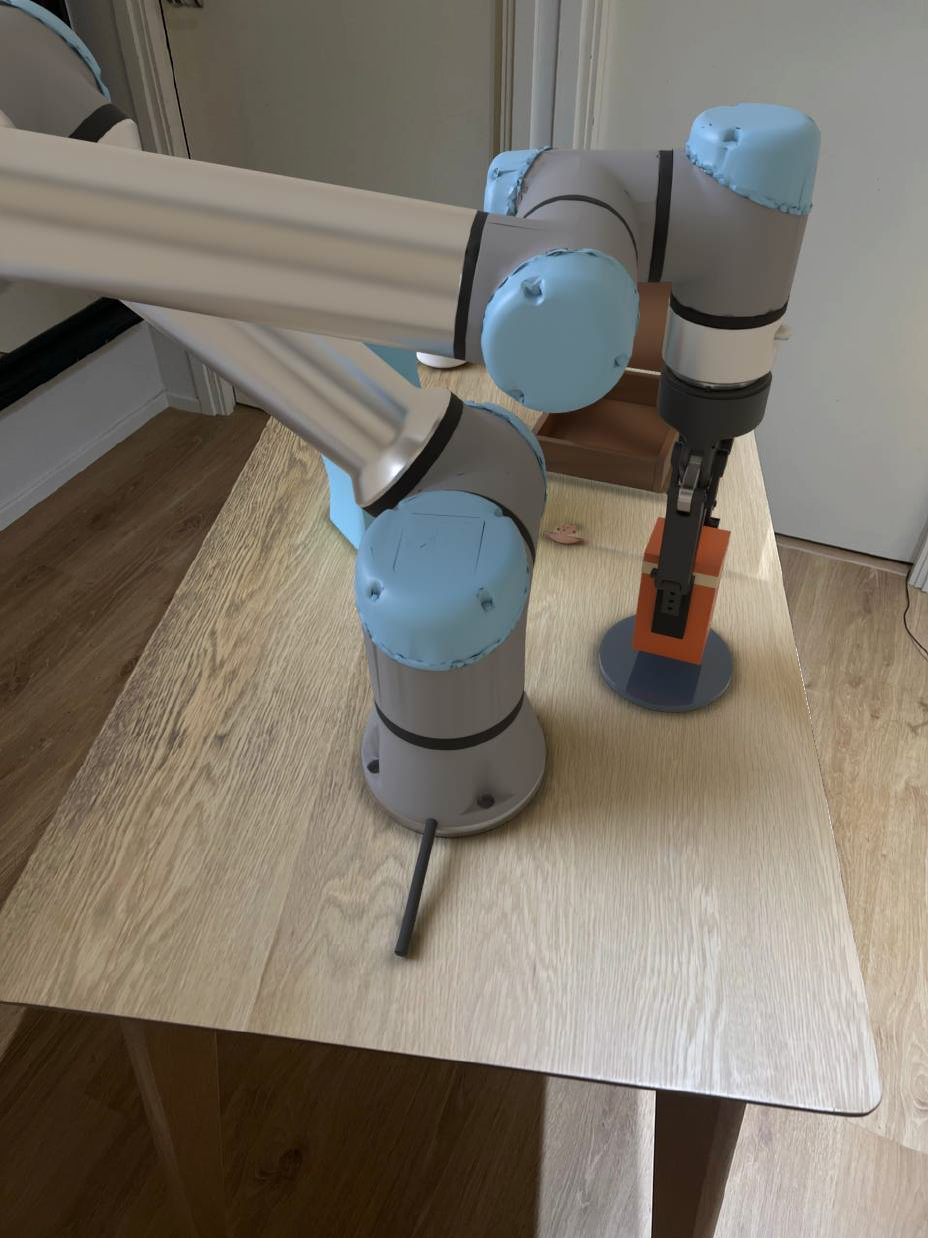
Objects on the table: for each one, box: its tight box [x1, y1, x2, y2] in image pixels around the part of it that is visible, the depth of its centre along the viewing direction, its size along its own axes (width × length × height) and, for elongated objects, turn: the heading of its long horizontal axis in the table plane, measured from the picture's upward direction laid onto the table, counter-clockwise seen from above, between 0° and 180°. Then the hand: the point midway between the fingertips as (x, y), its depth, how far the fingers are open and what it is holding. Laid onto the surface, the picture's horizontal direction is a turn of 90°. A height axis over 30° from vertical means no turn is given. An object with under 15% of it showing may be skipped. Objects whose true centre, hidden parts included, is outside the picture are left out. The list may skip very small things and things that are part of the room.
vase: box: [320, 342, 423, 551], centre depth 90 cm, size 10×10×25 cm
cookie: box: [547, 523, 583, 544], centre depth 95 cm, size 4×4×1 cm
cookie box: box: [632, 516, 732, 665], centre depth 75 cm, size 5×6×11 cm
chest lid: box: [626, 282, 672, 374], centre depth 107 cm, size 20×16×5 cm
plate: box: [598, 614, 734, 713], centre depth 81 cm, size 12×12×1 cm
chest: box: [530, 369, 679, 494], centre depth 106 cm, size 19×16×5 cm
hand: (675, 610), depth 77 cm, fingers closed on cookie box, 5 cm apart
